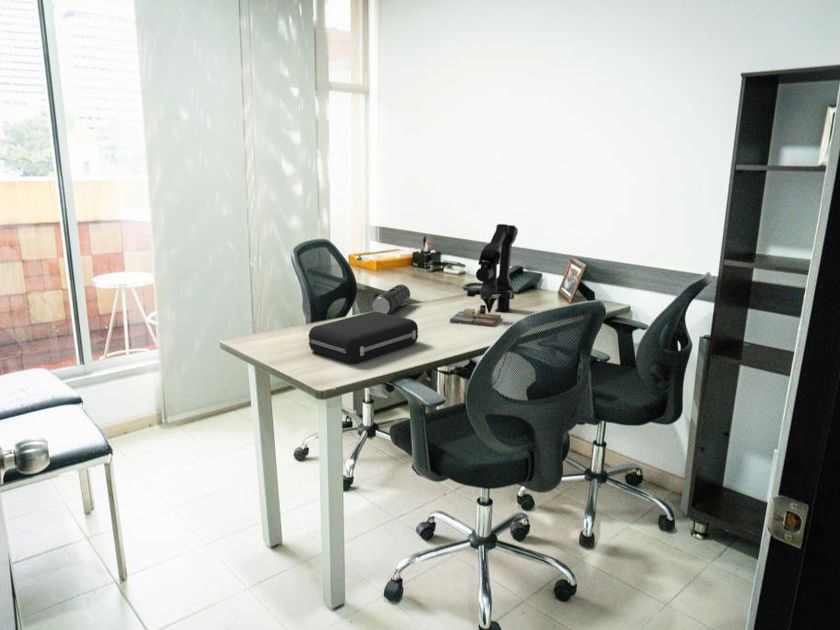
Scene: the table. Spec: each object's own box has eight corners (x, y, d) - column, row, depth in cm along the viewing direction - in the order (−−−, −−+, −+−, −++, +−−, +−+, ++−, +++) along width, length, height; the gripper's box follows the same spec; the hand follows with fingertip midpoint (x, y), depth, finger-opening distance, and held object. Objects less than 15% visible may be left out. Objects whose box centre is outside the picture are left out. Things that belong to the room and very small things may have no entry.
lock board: (459, 314, 283) (459, 311, 282) (500, 318, 277) (500, 315, 276) (449, 322, 269) (449, 319, 269) (492, 326, 263) (493, 323, 263)
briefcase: (364, 329, 259) (364, 306, 257) (422, 344, 239) (422, 319, 237) (294, 349, 232) (293, 323, 230) (352, 367, 212) (352, 339, 210)
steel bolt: (467, 315, 275) (468, 303, 274) (485, 316, 272) (486, 305, 271) (466, 316, 273) (466, 304, 271) (484, 318, 270) (484, 306, 269)
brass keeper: (465, 315, 276) (466, 308, 275) (480, 316, 274) (480, 309, 273) (463, 317, 272) (463, 310, 272) (478, 318, 270) (478, 311, 269)
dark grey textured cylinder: (410, 305, 300) (410, 284, 297) (391, 319, 274) (390, 296, 271) (392, 304, 302) (392, 283, 300) (370, 318, 276) (370, 295, 274)
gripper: (463, 279, 262) (463, 315, 266) (507, 282, 256) (506, 318, 260) (470, 275, 272) (470, 309, 276) (513, 277, 266) (512, 312, 270)
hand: (489, 312), depth 270 cm, fingers closed
